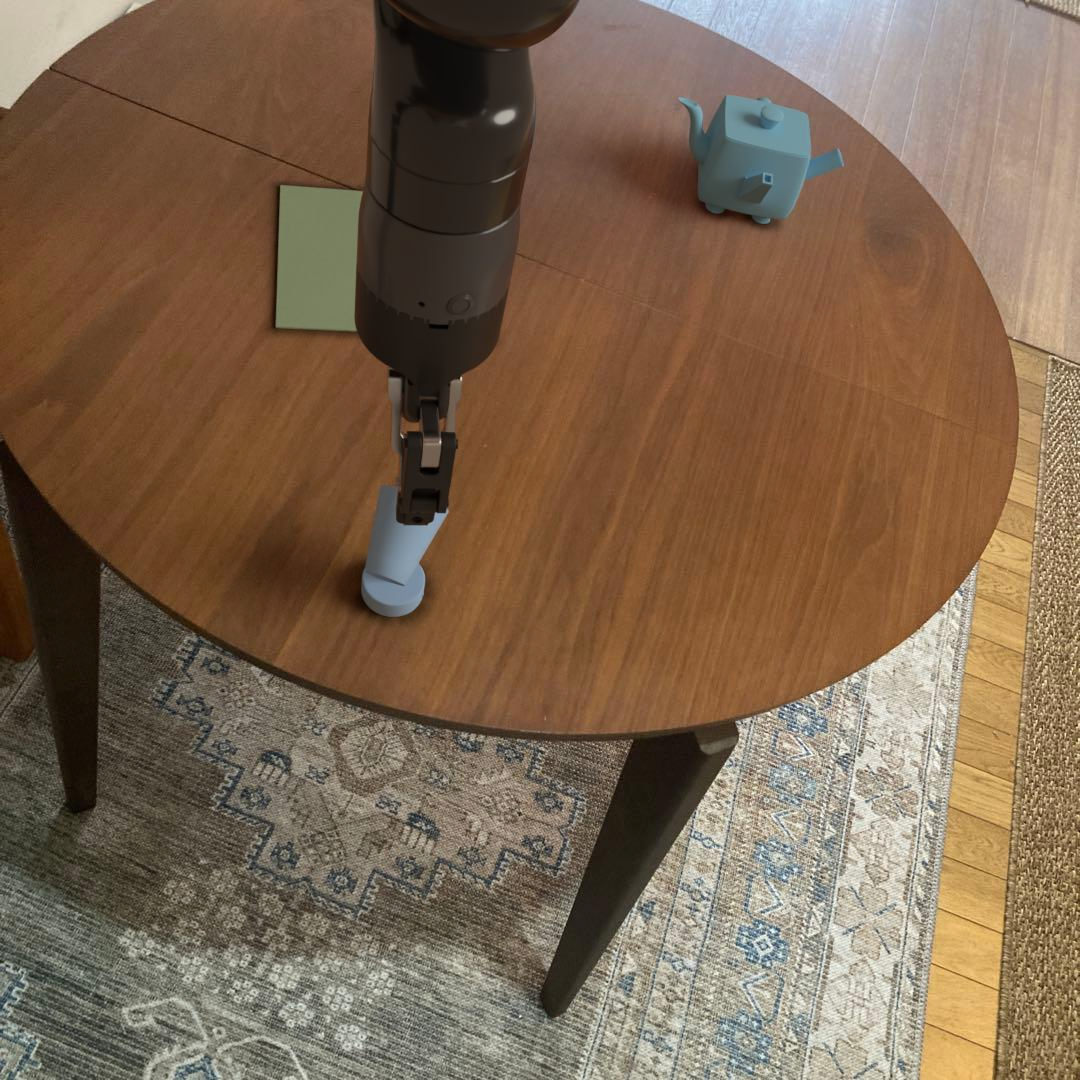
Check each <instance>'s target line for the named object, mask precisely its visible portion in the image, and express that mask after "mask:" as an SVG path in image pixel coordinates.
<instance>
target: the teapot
mask: <svg viewBox="0 0 1080 1080" xmlns="http://www.w3.org/2000/svg"><path fill="white" fill-rule="evenodd" d="M678 101H679V102H680V104H681V105H683V107H684V108H685V109H686V110H687V112H688V114H689V122H690V124H689V133H688V146H689V150H690V153H691V155H692V157H693V158H694V160H695V161H696V162H698V169H697V197H698V200H699V201H700V202H702V203H705V208H706V209H707V211H709V212H711V213H713V214H722V213H724V212H725V210H728V211H733V212H737V213H741V214H745V215H750V216H751V218H752V219H753V220H754V221H755V222H756V223H758V224H761V225H765V224H769V223H770V221H771V219H773V220H786V219H787V218H788V216H789V215H790V214H791V213H792V212H793V210H794V208H795V206H796V203H797V201H798V199H799V196H800V194H801V191H802V188H803V185H804V182H807V181H809V180H811V179H814V178H817V177H820V176H823V175H825V174H828V173H831V172H833V171H836V170H838V169H841V168H843V167H844V165H845V164H844V160H843V156H842V154H841V151H840V149H839V148H836V149H833V150H831V151H828V152H825V153H822V154H820V155H817V156H815V157H812V158H811V156H812V143H811V142H812V140H811V129H810V119H809V115H808V114H807V113H806V112H804V111H801V110H798V109H794V108H791V107H787V106H783V105H779V104H775V103H773V102H772V100H770V99H769V98H768V97H765V96H760V97H757V98H756V99H754V98H749V97H746V96H745V97H744V96H738V95H732V94H727V95H725V96H724V97H723V98H722V101H721V102H720V104H719V106H718V107H717V108H716V111H715V113H714V114H713V116H712V118H711V121H710V123H709V124H708V126H707V129H706V132H705V130H704V128H703V125H704V123H703V122H704V114H703V113H704V112H703V110H702V107H701V106H700V104H699V103H697V102H696V101H694V100H692V99H690V98H686V97H683V96H681V97H678Z"/></svg>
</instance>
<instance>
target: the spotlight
mask: <svg viewBox="0 0 1080 1080" xmlns="http://www.w3.org/2000/svg"><path fill="white" fill-rule="evenodd" d="M397 493H398V486H396V485H395V486H394V485H388V484H381V485H380V486H379V491H378V497H377V502H376V507H375V513H374V519H373V524H372V529H371V534H370V539H369V545H368V550H367V555H366V560H365V566H364V569H363V571H362V575H361V589H360V591H361V593H360V594H361V597H362V600H363V601H364V603H365V605H366V606H367V607H368V608H369V609H370V610H372V611H373V612H374V613H376V614H378V615H380V616H384V617H388V618H397V617H398V618H399V617H403V616H406V615H408V614H410V613H412V612H414V610H416V609H417V607H419V605H420V604H421V602H422V601H423V597H424V596H425V592H424V591H425V587H426V575H425V572H424V569H423V567H422V565H421V564H420V561H421V560H422V558H423V556H424V555H425V554H426V551H427V549H428V548H429V546H430V544H431V543H432V541H433V540H434V538H435V536H436V534H437V533H438V531H439V529H440V527H441V526H442V524H443V522H444V521H445V519H446V518H447V516H448V514H449V513H450V510H449V509H448V508H447V510H446V513H437V512H436V513H435V516H434V520H433V522H431V523H429V524H428V525H404V524H401V523H398V522H397V521H396V503H397Z"/></svg>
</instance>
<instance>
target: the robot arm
mask: <svg viewBox="0 0 1080 1080" xmlns="http://www.w3.org/2000/svg"><path fill="white" fill-rule="evenodd" d="M580 1H581V0H372V13H373V30H374V56H373V73H372V84H371V92H370V98H369V107H368V119H367V123H368V124H367V144H366V164H365V165H366V167H365V168H366V169H365V178H364V182H363V183H364V184H363V189H362V191H363V193H362V197H361V202H360V207H359V217H358V237H357V260H356V288H355V313H354V319H355V326H356V330H357V332H356V333H357V336H358V337H359V339H360V341H361V343H362V344H363V346H364V347H365V348H366V350H367V351H368V352H369V353H370V354H371V355H372V356H373V357H374V358H375V359H376V360H378V361H379V362H380V363H382V364H383V365H385V366H387V368H386V393H387V398H388V399H389V401H390V423H389V424H390V426H389V441H390V446H391V449H392V451H393V452H394V453H396V454H397V455H398V466H397V467H398V471H397V476H396V477H395V487H398V493H397V503H396V521H397V522H398V523H401V524H404V525H428V524H429V523H431V522H433V520H434V516H435V513H436V512H437V513H446V510H447V509H448V508H449V506H450V502H449V501H450V498H449V497H450V489H451V485H452V484H451V483H452V478H453V472H454V464H455V457H456V452H457V450H458V449H459V440H458V438H457V435H456V420H457V406H458V404H459V403H460V401H461V400H462V393H463V391H462V390H463V375H465V374H467V373H468V372H470V371H472V370H474V369H476V368H477V367H479V366H480V365H482V364H483V363H484V362H485V361H486V360H487V359H488V358H489V357H490V356H491V354H493V352H494V350H495V349H496V346H497V344H498V342H499V339H500V335H501V330H502V325H503V320H504V315H505V310H506V306H507V300H508V296H509V290H510V287H511V286H510V285H511V282H512V281H511V279H512V275H513V269H514V267H515V261H516V254H517V251H518V245H519V239H520V231H521V230H520V229H521V205H522V199H523V198H522V197H523V194H524V193H523V192H524V187H525V182H526V179H527V178H526V177H527V172H528V169H529V168H528V166H529V163H530V158H531V151H532V148H533V144H534V143H533V142H534V138H535V137H534V136H535V129H536V120H537V119H536V118H537V94H536V86H535V79H534V74H533V73H534V72H533V67H532V60H531V50H530V49H531V47H533V46H535V45H537V44H540V43H541V42H543V41H545V40H546V39H548V38H550V36H552V35H554V33H556V32H557V31H558V30H560V29H561V28H562V26H564V25H565V24H566V22H567V21H568V20H569V18H571V16H572V15H573V13H574V11H575V10H576V9H577V7H578V5H579V3H580ZM402 418H403V419H404V420H405V421H406V422H408V423H411V424H418V430H407V431H406V433H404V432H403V430H402ZM441 420H443V426H442V429H441V426H440V421H441Z"/></svg>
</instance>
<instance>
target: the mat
mask: <svg viewBox="0 0 1080 1080" xmlns="http://www.w3.org/2000/svg"><path fill="white" fill-rule="evenodd" d="M362 193H363V190H354V189H339V188H326V187H313V186H312V187H311V186H300V185H299V186H298V185H285V184H280V185H279V211H278V212H279V215H278V242H277V243H278V246H277V272H276V273H277V274H276V275H277V276H276V307H275V329H283V330H284V329H285V330H286V329H287V330H306V331H307V330H308V331H313V330H314V331H329V332H350V333H351V332H352V333H357V330H356V326H355V319H354V313H355V288H356V260H357V237H358V217H359V207H360V202H361V197H362Z"/></svg>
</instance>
